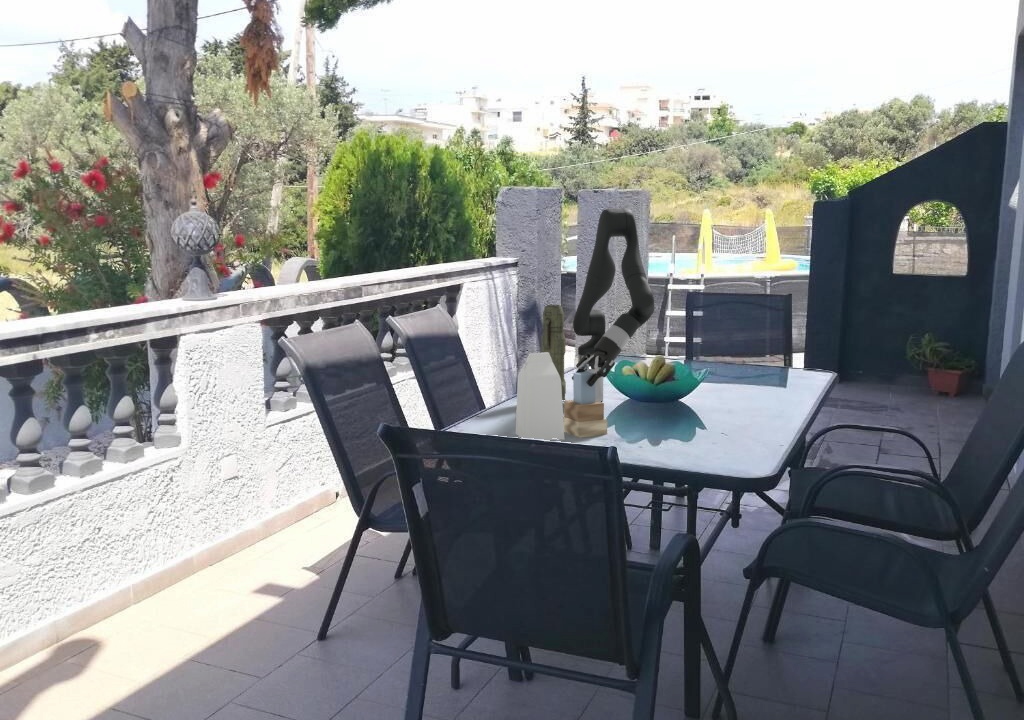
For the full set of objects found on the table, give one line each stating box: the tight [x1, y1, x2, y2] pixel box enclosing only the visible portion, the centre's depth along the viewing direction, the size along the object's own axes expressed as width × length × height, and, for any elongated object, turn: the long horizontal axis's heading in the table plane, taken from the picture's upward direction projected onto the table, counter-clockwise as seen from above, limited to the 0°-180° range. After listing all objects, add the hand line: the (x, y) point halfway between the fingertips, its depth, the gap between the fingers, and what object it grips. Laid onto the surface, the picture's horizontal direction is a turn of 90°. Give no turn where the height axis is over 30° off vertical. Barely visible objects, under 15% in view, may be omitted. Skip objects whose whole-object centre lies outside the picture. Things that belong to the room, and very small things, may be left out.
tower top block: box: [563, 399, 605, 422], centre depth 281 cm, size 9×9×5 cm
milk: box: [515, 352, 565, 441], centre depth 275 cm, size 12×12×26 cm
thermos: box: [540, 304, 567, 401], centre depth 329 cm, size 9×12×35 cm
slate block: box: [572, 372, 595, 404], centre depth 280 cm, size 5×5×9 cm
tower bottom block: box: [563, 416, 608, 439], centre depth 281 cm, size 10×10×5 cm
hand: (581, 382), depth 279 cm, fingers open, 8 cm apart
